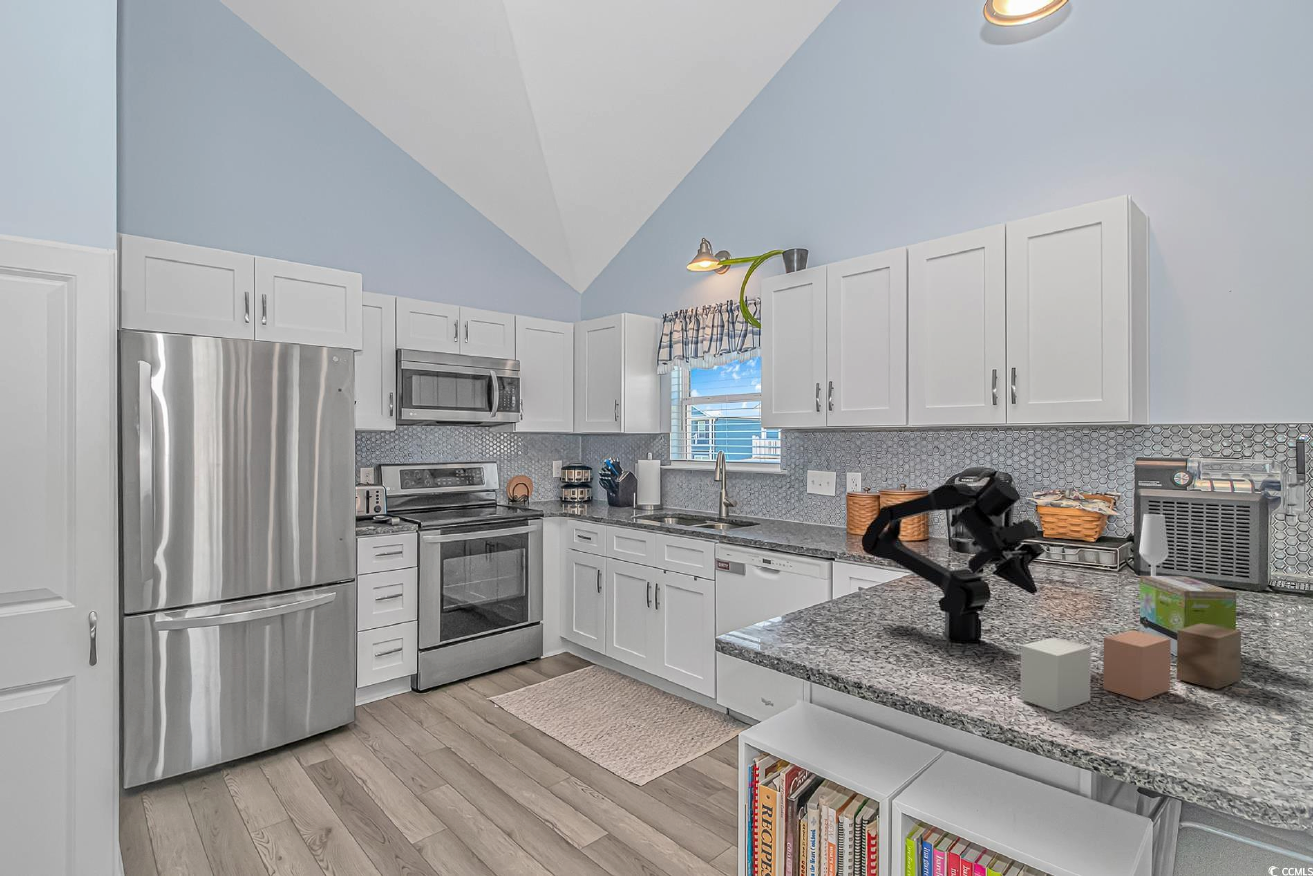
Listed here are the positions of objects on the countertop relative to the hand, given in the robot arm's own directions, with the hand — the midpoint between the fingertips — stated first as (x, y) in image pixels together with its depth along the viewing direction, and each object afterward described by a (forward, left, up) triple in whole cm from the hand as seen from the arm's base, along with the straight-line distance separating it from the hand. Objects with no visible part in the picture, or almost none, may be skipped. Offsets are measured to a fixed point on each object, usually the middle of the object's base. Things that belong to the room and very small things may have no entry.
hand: (1034, 592), depth 131 cm
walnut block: (+28, -6, -14) cm, 31 cm away
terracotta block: (+11, -14, -14) cm, 23 cm away
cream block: (-6, -22, -14) cm, 26 cm away
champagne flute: (+58, +65, -14) cm, 88 cm away
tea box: (+35, +13, -14) cm, 40 cm away
